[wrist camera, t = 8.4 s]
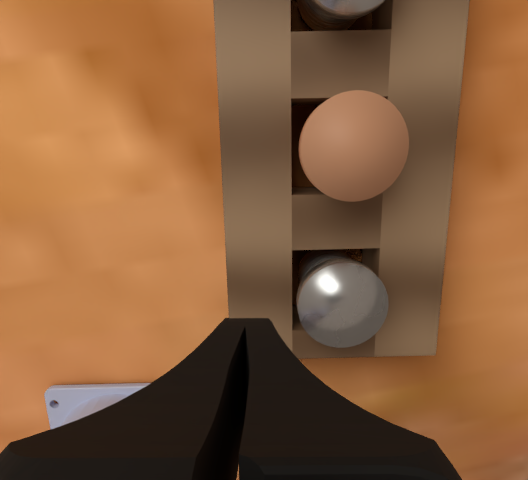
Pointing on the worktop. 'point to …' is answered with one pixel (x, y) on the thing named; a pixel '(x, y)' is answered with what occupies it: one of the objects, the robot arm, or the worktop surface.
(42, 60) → the worktop surface
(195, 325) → the worktop surface
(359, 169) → the terracotta plug
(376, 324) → the grey plug
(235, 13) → the walnut block
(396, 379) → the worktop surface
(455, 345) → the worktop surface
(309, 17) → the grey plug
